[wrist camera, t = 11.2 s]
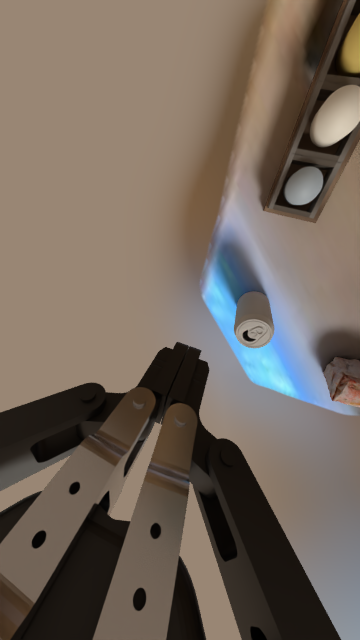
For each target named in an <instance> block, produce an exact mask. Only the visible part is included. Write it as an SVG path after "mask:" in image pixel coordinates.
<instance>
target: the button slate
mask: <svg viewBox="0 0 360 640" xmlns="http://www.w3.org/2000/svg"><path fill="white" fill-rule="evenodd" d="M322 185H323V175H322V173H321V171H320V170H319V169H317V168H316V167H304V168H302V169H300V170H298V171H297V172H295V173H294V174H293V175H291V176H290V177H289V179H288V180H287V181H286V183H285V185H284V188H283V196H284V199H285V201H286V202H287V203H289V204H292V205H303V204H306V203H309V202H310V201H312V200H313V199H314V198H315V197H316V196H317V195H318V194H319V192H320V190H321V188H322Z"/></svg>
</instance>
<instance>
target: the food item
mask: <svg viewBox="0 0 360 640" xmlns="http://www.w3.org/2000/svg"><path fill="white" fill-rule="evenodd" d="M323 374H324V376H325V378H326V382H327V385H328V389H329V391H330V397H331V399H332V401H339V402H341V403H344V404H348V405H352V406H356V407H360V361H359V360H356V359H352V360H348V359H343V358H340V357H335V358H334V360H333V361H332V362H331V363H330V364H328V365H327V366H326V369H325V371H324V373H323Z"/></svg>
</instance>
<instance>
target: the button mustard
mask: <svg viewBox="0 0 360 640" xmlns="http://www.w3.org/2000/svg"><path fill="white" fill-rule="evenodd" d="M336 69H337V73H338V74H339V76H346V77H355V78H358V77H360V13H359V15H358V16H357V18H356V20H355V21H354V23H353V25H352V27H351V28H350V30H349V32H348V34H347V36H346V37H345V39H344V41H343V43H342V45H341V46H340V49H339V51H338V54H337V59H336Z"/></svg>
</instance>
